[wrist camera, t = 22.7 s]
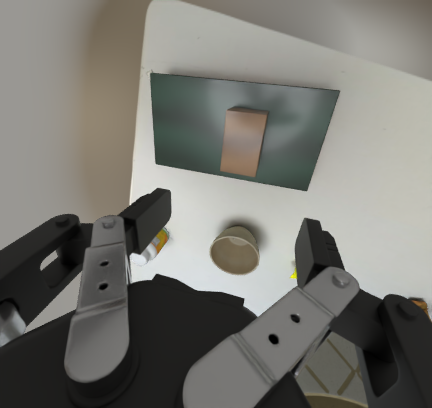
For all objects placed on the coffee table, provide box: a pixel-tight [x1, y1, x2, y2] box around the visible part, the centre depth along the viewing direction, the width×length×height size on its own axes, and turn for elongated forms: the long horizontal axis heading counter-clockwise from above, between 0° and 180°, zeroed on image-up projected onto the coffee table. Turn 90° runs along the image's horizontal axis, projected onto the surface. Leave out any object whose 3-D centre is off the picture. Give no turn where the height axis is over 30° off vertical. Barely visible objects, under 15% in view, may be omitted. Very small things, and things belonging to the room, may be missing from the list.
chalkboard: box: [150, 73, 340, 191], centre depth 35 cm, size 14×26×6 cm, turn 85°
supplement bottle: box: [130, 228, 169, 266], centre depth 50 cm, size 5×5×10 cm
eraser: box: [220, 107, 269, 177], centre depth 30 cm, size 8×5×5 cm, turn 175°
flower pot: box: [210, 226, 259, 275], centre depth 45 cm, size 10×10×7 cm
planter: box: [296, 332, 368, 408], centre depth 46 cm, size 19×19×20 cm
